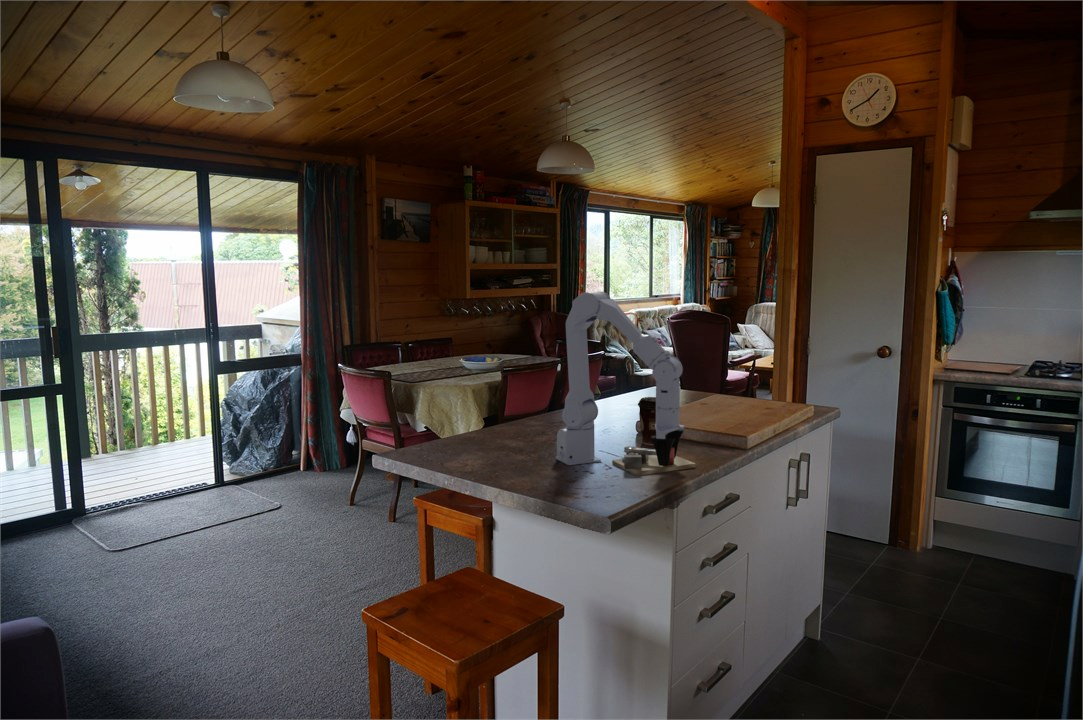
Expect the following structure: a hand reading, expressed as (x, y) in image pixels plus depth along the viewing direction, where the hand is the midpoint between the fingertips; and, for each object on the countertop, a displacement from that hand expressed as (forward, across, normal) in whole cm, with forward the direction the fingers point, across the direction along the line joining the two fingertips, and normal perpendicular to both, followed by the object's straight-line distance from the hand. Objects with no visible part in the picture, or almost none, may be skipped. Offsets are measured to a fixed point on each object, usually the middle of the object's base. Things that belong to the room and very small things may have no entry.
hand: (667, 461), depth 173 cm
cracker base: (+2, +3, +5) cm, 6 cm away
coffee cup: (+2, +27, +11) cm, 29 cm away
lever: (+1, +1, +5) cm, 5 cm away
